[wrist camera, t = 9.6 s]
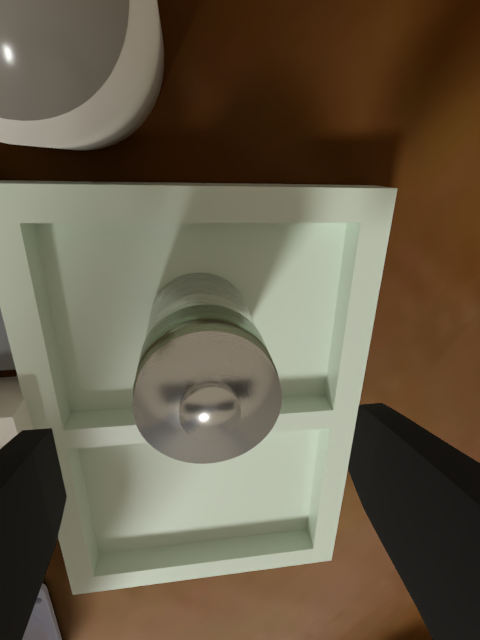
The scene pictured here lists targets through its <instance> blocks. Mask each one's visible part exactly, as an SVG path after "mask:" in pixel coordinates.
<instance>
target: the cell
mask: <svg viewBox="0 0 480 640" xmlns="http://www.w3.org/2000/svg"><path fill="white" fill-rule="evenodd" d="M281 405H282V390H281V385H280V381H279V377H278V373H277V370H276V367H275V365H274V363H273V360H272V358H271V356H270V354H269V351H268V349H267V347H266V345H265V343H264V340H263V338H262V336H261V334H260V333H259V331H258V329H257V328H256V326H255V324H254V322H253V319H252V317H251V315H250V313H249V310H248V308H247V306H246V303H245V301H244V299H243V297H242V295H241V294H240V292H239V291H238V290H237V288H236V287H235V286H234V285H233V284H231V283H230V282H229V281H227V280H226V279H224V278H222V277H220V276H217V275H214V274H210V273H189V274H185V275H182V276H180V277H177V278H175V279H173V280H172V281H170V282H169V283H168V284H166V285H165V286H164V287H163V288H162V289H161V290H160V292H159V293H158V294H157V296H156V298H155V300H154V302H153V305H152V309H151V313H150V318H149V323H148V328H147V332H146V337H145V341H144V344H143V346H142V349H141V354H140V358H139V363H138V367H137V372H136V377H135V381H134V386H133V405H132V407H133V416H134V420H135V423H136V426H137V428H138V430H139V432H140V433H141V435H142V436H143V438H144V439H145V440H146V441H147V442H148V443H149V444H150V445H151V446H152V447H153V448H154V449H156V450H157V451H159V452H160V453H162V454H164V455H166V456H168V457H170V458H173V459H175V460H178V461H183V462H187V463H195V464H208V463H217V462H222V461H226V460H230V459H232V458H235V457H238V456H240V455H242V454H244V453H246V452H248V451H249V450H251V449H252V448H254V447H255V446H256V445H258V444H259V443H260V442H261V441H262V440H263V439H264V438H265V437H266V436H267V435H268V434H269V432H270V431H271V430H272V428H273V427H274V425H275V423H276V421H277V419H278V416H279V414H280V410H281Z"/></svg>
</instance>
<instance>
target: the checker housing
mask: <svg viewBox="0 0 480 640" xmlns="http://www.w3.org/2000/svg"><path fill="white" fill-rule="evenodd" d="M22 430H34V429H33V425H32V421H31V417H30V413H29V409H28V405H27V401H26V397H24V398H23V396H22V392H21V388H20V384H19V380H18V376H17V375H16V376H15V377H0V449H1V448H2V447H3V446H4V445H5V444H7V443H8V442H9V441H10V440H11V439H12V438H14V437H15V436H16V435H17V434H19V433H20V432H21V431H22Z"/></svg>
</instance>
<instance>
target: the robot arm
mask: <svg viewBox="0 0 480 640" xmlns="http://www.w3.org/2000/svg"><path fill="white" fill-rule="evenodd" d="M348 470H349V472H350V475H351V478H352V480H353V483H354V486H355V488H356V491H357V493H358V496H359V498H360V501H361V503H362V505H363V508H364V510H365V512H366V514H367V516H368V518H369V519H370V521H371V523H372V525H373V527H374V529H375V531H376V533H377V534H378V536H379V538H380V540H381V542H382V544H383V546H384V548H385V549H386V551H387V553H388V555H389V557H390V559H391V560H392V562H393V564H394V566H395V568H396V570H397V571H398V573H399V575H400V577H401V579H402V581H403V583H404V584H405V586H406V588H407V590H408V592H409V594H410V595H411V597H412V599H413V601H414V603H415V605H416V607H417V609H418V611H419V613H420V615H421V617H422V619H423V621H424V623H425V625H426V627H427V629H428V631H429V633H430V635H431V637H432V639H433V640H480V463H479V462H477V461H475V460H474V459H472V458H470V457H469V456H467V455H465V454H464V453H462V452H461V451H459V450H457V449H456V448H454V447H452V446H451V445H449V444H448V443H446V442H445V441H443V440H441V439H440V438H438V437H437V436H435V435H433V434H432V433H430V432H429V431H427V430H426V429H424V428H422V427H421V426H419V425H418V424H416V423H415V422H413V421H411V420H410V419H408V418H407V417H405V416H403V415H402V414H400V413H398V412H397V411H395V410H393V409H392V408H390V407H388V406H386V405H385V404H383V403H376V404H363V405H359V407H358V413H357V419H356V425H355V430H354V436H353V442H352V448H351V453H350V459H349V465H348ZM66 498H67V495H66V490H65V486H64V481H63V477H62V472H61V468H60V463H59V459H58V454H57V449H56V445H55V440H54V436H53V431H52V428H47V429H34V430H22V431H21V432H20V433H19V434H17V435H16V436H15V437H14V438H12V439H11V440H10V441H9V442H8V443H7V444H5V445H4V446H3V447H2V448H1V449H0V640H62V637H61V634H60V631H59V627H58V624H57V620H56V617H55V613H54V610H53V607H52V603H51V600H50V596H49V593H48V589H47V587H46V585H45V584H43V580H44V577H45V574H46V571H47V569H48V566H49V563H50V560H51V557H52V554H53V551H54V548H55V545H56V542H57V538H58V534H59V529H60V525H61V521H62V517H63V512H64V507H65V503H66Z"/></svg>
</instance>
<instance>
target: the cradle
mask: <svg viewBox="0 0 480 640" xmlns="http://www.w3.org/2000/svg"><path fill="white" fill-rule="evenodd" d="M0 370H16V368H15V364H14V360H13V356H12V352H11V348H10V344H9V340H8V336H7V332H6V328H5V324H4V321H3V317H2V313H1V309H0Z"/></svg>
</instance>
